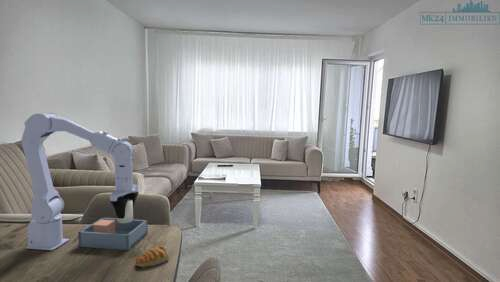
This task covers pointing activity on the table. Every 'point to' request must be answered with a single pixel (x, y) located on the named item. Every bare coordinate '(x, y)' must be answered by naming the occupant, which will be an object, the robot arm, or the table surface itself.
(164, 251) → the pastry
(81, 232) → the tote
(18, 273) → the table surface
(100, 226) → the cube
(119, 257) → the table surface
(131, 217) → the white egg shape
